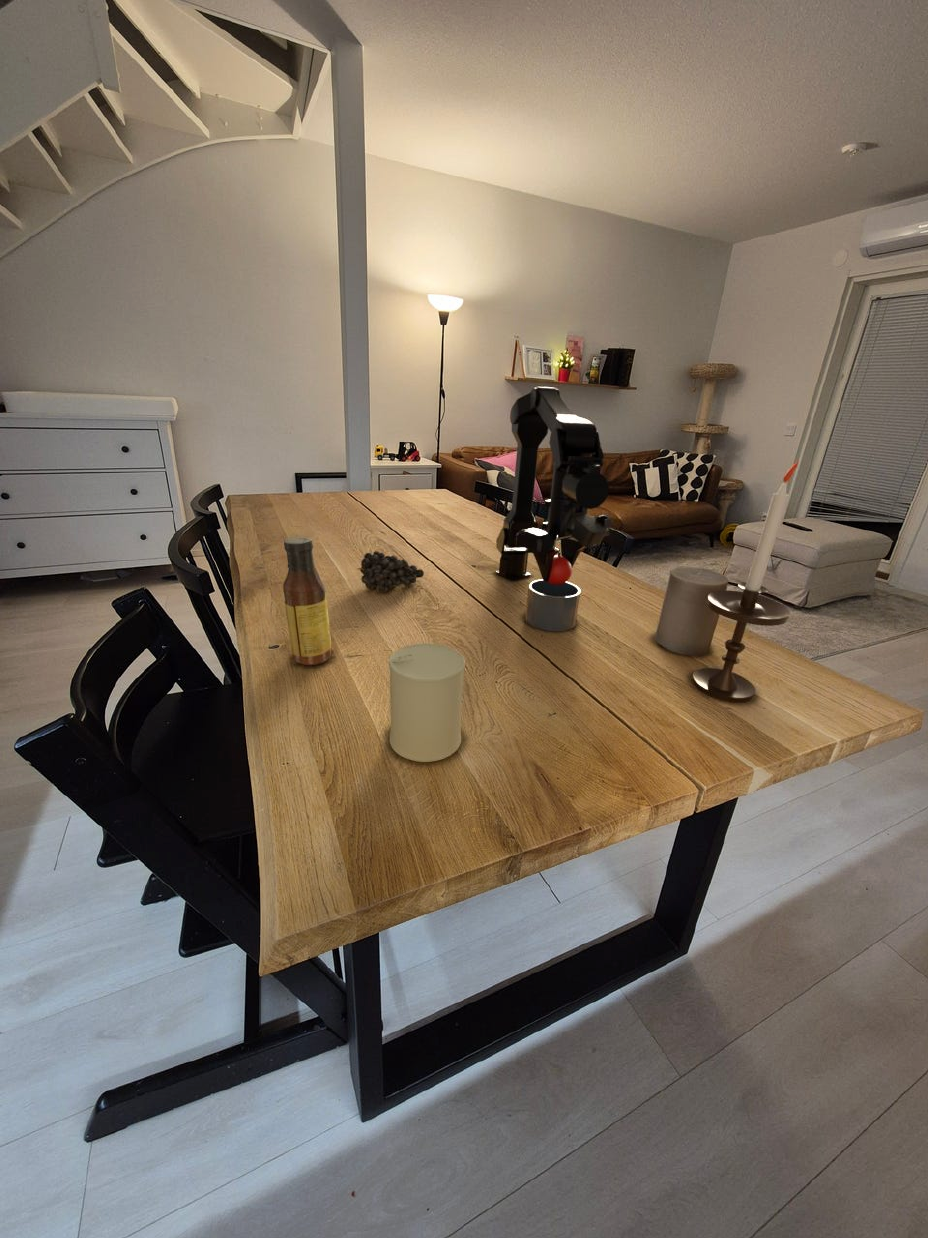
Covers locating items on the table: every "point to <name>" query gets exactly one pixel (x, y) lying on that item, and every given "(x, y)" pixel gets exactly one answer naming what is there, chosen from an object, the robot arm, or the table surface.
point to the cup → (552, 605)
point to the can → (426, 701)
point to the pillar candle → (689, 610)
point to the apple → (560, 570)
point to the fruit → (387, 572)
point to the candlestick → (746, 611)
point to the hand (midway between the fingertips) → (555, 578)
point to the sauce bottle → (306, 605)
